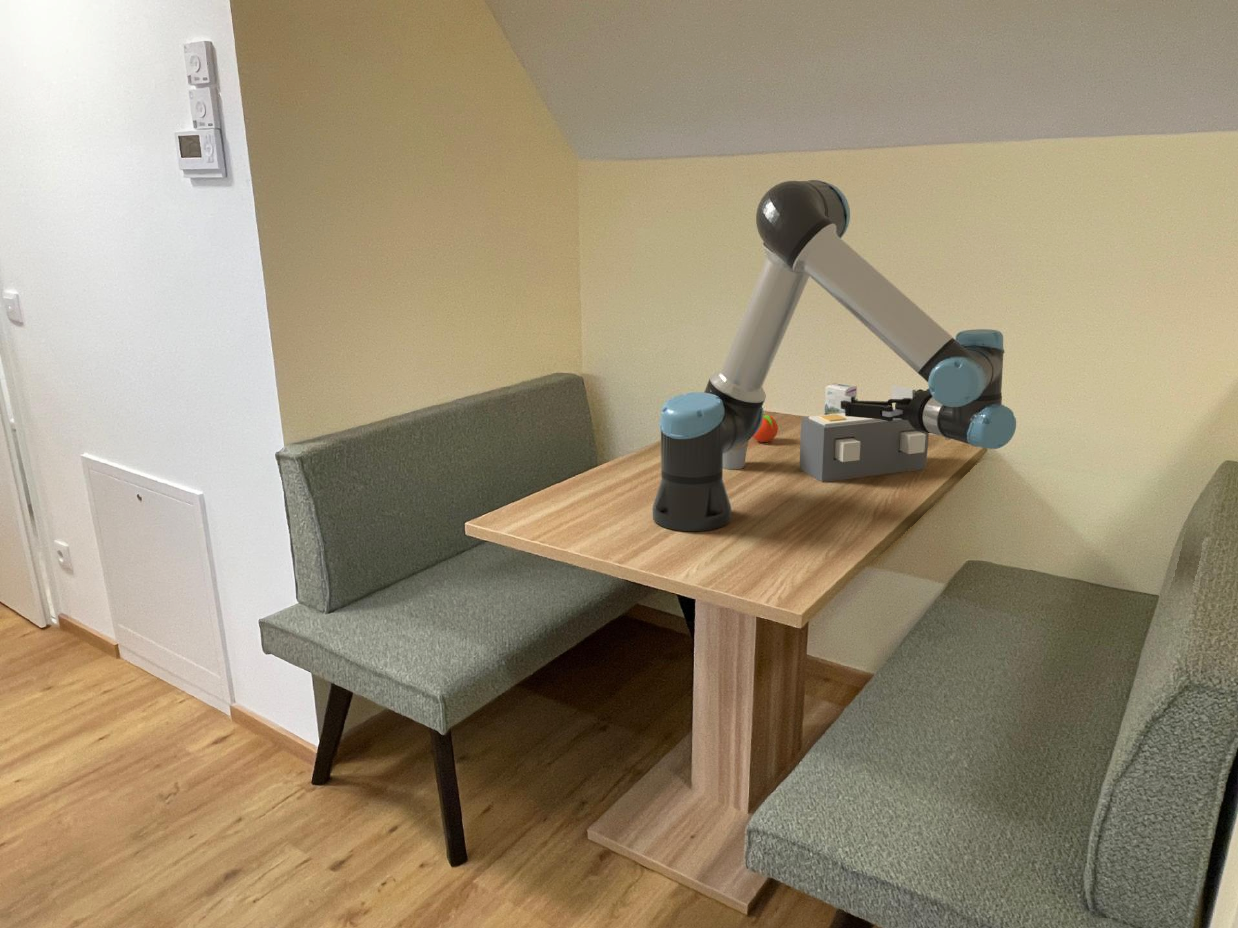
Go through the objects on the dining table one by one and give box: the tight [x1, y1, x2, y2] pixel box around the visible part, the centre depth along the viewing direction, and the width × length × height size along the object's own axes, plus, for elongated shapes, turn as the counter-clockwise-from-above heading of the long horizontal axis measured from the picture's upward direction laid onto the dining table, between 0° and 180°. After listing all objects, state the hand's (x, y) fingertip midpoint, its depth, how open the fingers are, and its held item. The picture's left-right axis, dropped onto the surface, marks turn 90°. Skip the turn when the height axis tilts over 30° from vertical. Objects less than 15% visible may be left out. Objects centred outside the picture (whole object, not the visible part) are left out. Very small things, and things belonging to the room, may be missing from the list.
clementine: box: [752, 413, 779, 443], centre depth 219 cm, size 8×7×7 cm
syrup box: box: [823, 382, 858, 415], centre depth 216 cm, size 6×6×14 cm
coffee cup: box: [723, 440, 749, 470], centre depth 200 cm, size 9×9×15 cm
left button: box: [834, 437, 860, 462], centre depth 188 cm, size 6×4×4 cm
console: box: [798, 407, 930, 483], centre depth 196 cm, size 10×26×13 cm, turn 107°
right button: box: [899, 430, 926, 454], centre depth 193 cm, size 6×4×4 cm
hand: (864, 396), depth 178 cm, fingers open, 13 cm apart
